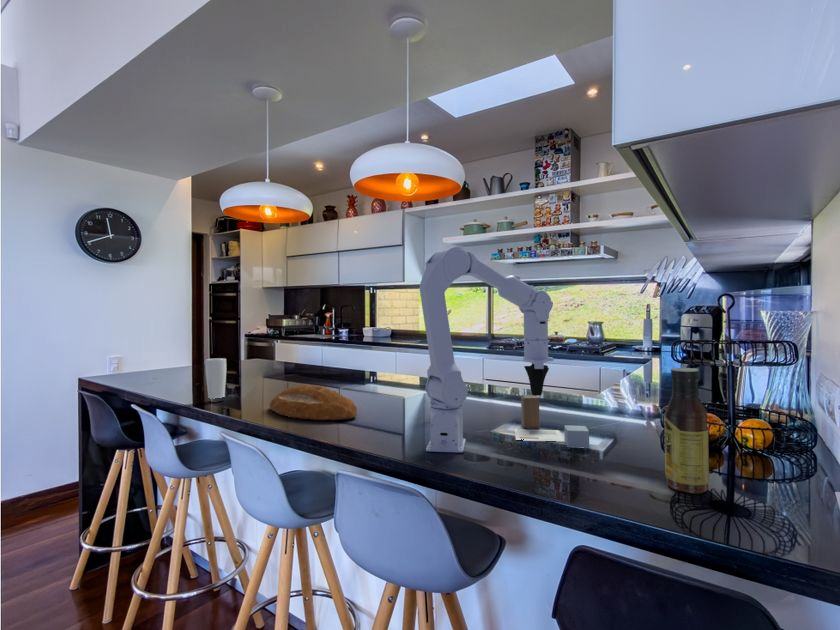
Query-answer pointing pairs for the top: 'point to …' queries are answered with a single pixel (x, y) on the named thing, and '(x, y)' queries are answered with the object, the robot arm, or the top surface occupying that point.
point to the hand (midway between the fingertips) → (536, 395)
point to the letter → (538, 435)
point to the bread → (313, 404)
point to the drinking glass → (215, 377)
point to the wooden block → (530, 412)
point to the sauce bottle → (686, 435)
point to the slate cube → (576, 436)
